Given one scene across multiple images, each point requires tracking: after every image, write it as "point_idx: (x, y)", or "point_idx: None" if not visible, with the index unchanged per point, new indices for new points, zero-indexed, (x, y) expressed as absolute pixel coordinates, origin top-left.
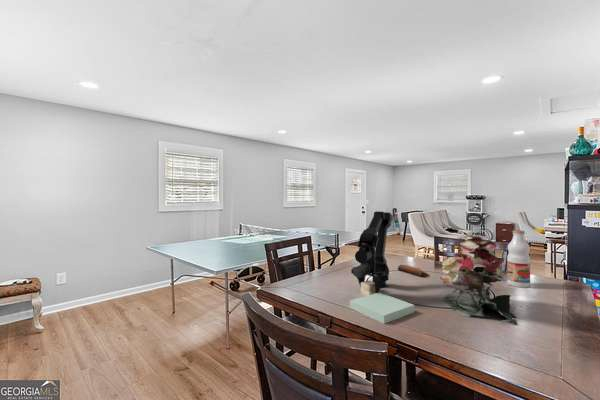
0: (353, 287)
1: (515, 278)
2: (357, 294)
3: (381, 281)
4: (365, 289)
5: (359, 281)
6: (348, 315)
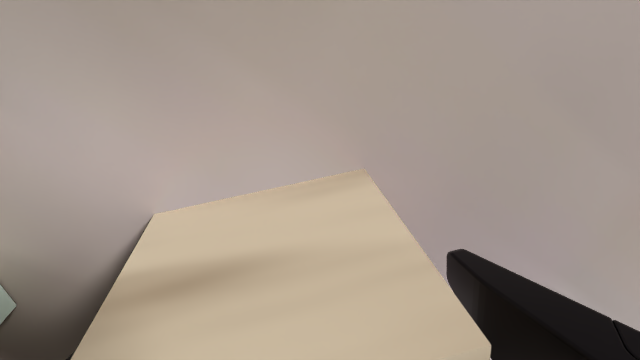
0: (628, 211)
1: None
2: (360, 89)
3: None
4: (245, 265)
5: (611, 351)
6: None
